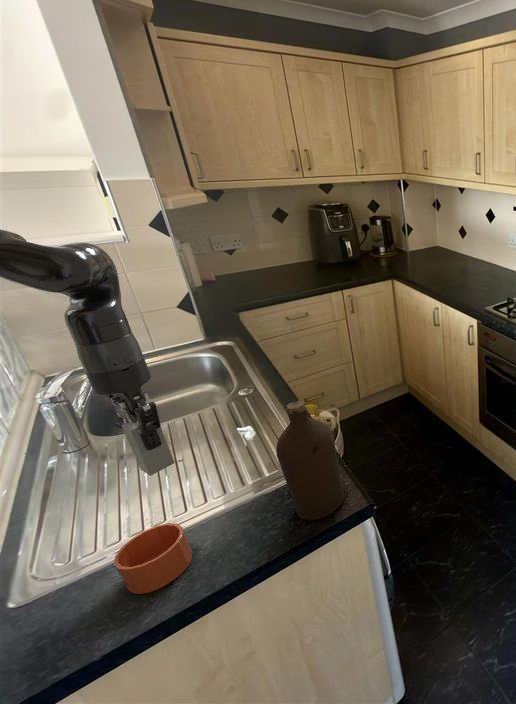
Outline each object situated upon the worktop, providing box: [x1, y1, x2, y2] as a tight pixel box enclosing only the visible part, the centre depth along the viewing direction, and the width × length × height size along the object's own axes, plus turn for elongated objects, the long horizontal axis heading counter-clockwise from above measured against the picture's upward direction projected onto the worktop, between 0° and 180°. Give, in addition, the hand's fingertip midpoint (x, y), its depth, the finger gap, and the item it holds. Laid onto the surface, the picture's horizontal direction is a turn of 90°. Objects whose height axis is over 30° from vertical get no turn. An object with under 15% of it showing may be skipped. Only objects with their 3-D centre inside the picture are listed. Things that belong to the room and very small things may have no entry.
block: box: [121, 422, 176, 476], centre depth 76 cm, size 4×4×10 cm
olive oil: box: [275, 399, 345, 521], centre depth 84 cm, size 11×11×25 cm
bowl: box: [113, 522, 193, 595], centre depth 73 cm, size 9×9×6 cm
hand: (148, 443), depth 75 cm, fingers closed on block, 4 cm apart
